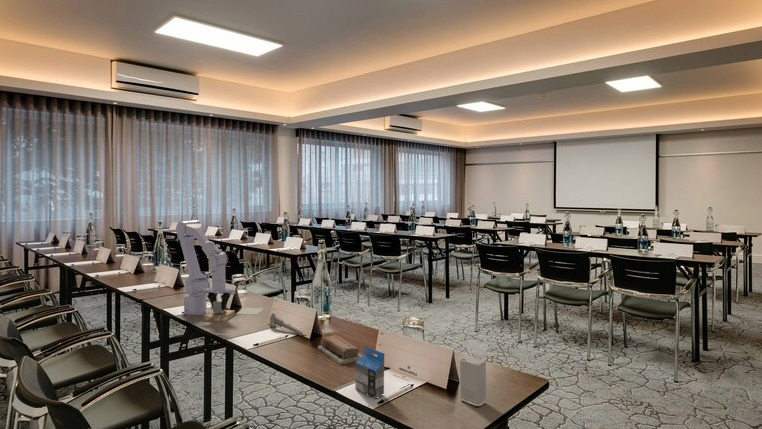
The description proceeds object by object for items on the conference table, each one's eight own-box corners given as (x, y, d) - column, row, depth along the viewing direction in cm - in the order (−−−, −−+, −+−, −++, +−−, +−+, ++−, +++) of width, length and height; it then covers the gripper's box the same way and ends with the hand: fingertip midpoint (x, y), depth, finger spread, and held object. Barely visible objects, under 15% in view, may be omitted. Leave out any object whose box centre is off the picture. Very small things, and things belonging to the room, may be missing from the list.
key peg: (213, 316, 198) (212, 301, 198) (217, 314, 202) (217, 299, 202) (221, 317, 198) (221, 301, 197) (225, 314, 202) (225, 299, 201)
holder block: (203, 321, 195) (203, 315, 195) (214, 314, 205) (214, 309, 205) (225, 322, 194) (224, 316, 194) (235, 315, 204) (234, 310, 204)
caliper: (269, 327, 188) (269, 313, 188) (271, 327, 189) (271, 312, 189) (304, 337, 177) (304, 321, 176) (306, 336, 178) (306, 321, 177)
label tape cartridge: (354, 389, 131) (354, 348, 130) (364, 385, 134) (364, 345, 133) (375, 399, 125) (375, 357, 124) (384, 395, 128) (385, 353, 127)
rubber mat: (235, 315, 205) (235, 313, 205) (244, 309, 215) (244, 307, 215) (256, 315, 204) (256, 314, 204) (264, 309, 214) (264, 308, 214)
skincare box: (486, 403, 123) (487, 360, 122) (478, 409, 120) (479, 365, 119) (467, 395, 127) (468, 354, 126) (459, 401, 124) (459, 359, 123)
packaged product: (316, 337, 163) (340, 332, 169) (316, 349, 164) (340, 344, 169) (339, 352, 148) (365, 346, 154) (339, 366, 149) (364, 360, 154)
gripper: (198, 281, 196) (199, 311, 196) (230, 282, 194) (230, 312, 195) (206, 277, 203) (207, 306, 203) (237, 278, 201) (237, 308, 202)
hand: (219, 309), depth 200 cm, fingers closed on key peg, 4 cm apart
